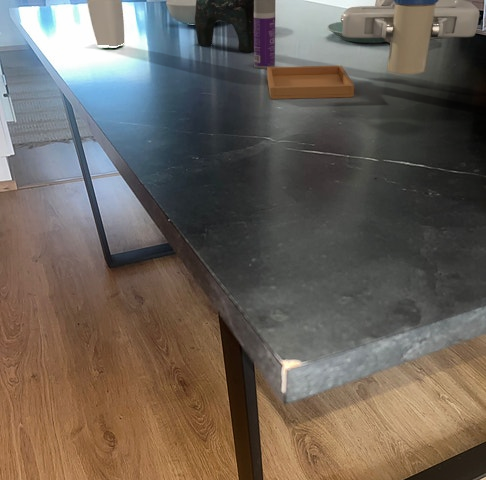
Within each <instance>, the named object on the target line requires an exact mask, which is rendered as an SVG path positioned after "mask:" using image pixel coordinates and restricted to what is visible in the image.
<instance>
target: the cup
mask: <svg viewBox="0 0 486 480" xmlns="http://www.w3.org/2000/svg"><path fill="white" fill-rule="evenodd" d="M86 2H87V3H86V4H87V9H88V13H89V19H90V22H91V23H90V24H91V27H92V30H93V34H94V38H95V41H96V43H97V46H98V45H109V46H118V45H121V44H123V43H124V44H125V20H124V11H123V10H124V9H123V1H122V0H86ZM124 44H123V45H124Z"/></svg>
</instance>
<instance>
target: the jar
mask: <svg viewBox="0 0 486 480" xmlns="http://www.w3.org/2000/svg"><path fill="white" fill-rule="evenodd" d="M435 7H436V3H434V4H427V5H405V4H398V3H395V10H394V18H393V30H392V32H393V35H392V37H391V43H389V53H388V59H387V60H388V61H387V68H386V69H387V71H388V72H390V73H393V74H398V75H417V74H423V73H425V72H426V69H427V62H428V56H429V50H430V43H431V40H430V38H431V32H432V25H433V19H434V13H435Z"/></svg>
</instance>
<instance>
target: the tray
mask: <svg viewBox="0 0 486 480" xmlns="http://www.w3.org/2000/svg"><path fill="white" fill-rule="evenodd" d="M266 79H267V86H268V93H269V99H270V100H285V99H287V100H289V99H290V100H291V99H328V98H329V99H330V98H331V99H332V98H334V99H335V98H354V96H355V84H354V82H353V81H352V79H351V77H350V76H349V74H348V73H347V71H346V70H345V68H344V67H343V66H342V65H308V66H307V65H306V66H304V65H303V66H274V67H267V69H266Z"/></svg>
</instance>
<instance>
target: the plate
mask: <svg viewBox="0 0 486 480" xmlns="http://www.w3.org/2000/svg"><path fill="white" fill-rule="evenodd" d="M326 27H327V30H328V31H330V32H331V33H333V34H334V35H336V36H337V37H338V38H340V39H341V40H344V41H347V42H354V43H366V44H368V43H369V44H370V43H371V44H372V43H373V44H376V43H388V42H387V41H386V40H385V39H384V38H347V37H344V36H343V35H342V29H343V23H342V22H341V21H338V22H333V23H330V24H328V25H327V26H326Z"/></svg>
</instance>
